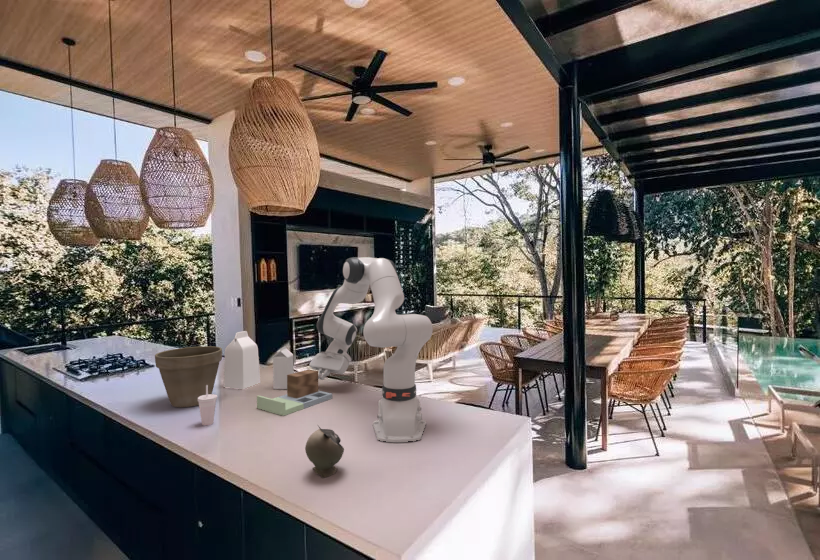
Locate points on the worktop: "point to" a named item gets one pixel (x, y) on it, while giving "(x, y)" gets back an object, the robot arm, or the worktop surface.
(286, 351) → the milk carton
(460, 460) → the worktop surface
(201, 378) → the plant pot
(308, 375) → the walnut block
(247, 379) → the milk
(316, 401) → the trap deck
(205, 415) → the smoothie
